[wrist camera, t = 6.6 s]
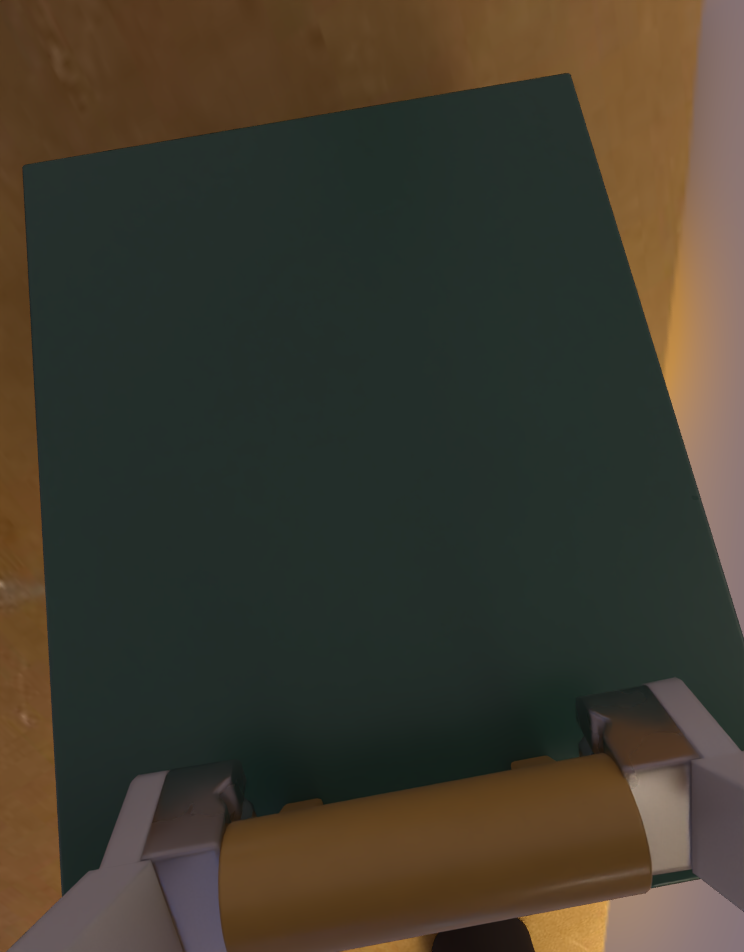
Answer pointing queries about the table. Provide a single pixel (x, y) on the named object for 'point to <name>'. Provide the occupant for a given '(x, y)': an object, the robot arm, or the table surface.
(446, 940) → the tape
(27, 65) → the table surface
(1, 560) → the table surface
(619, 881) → the lid
